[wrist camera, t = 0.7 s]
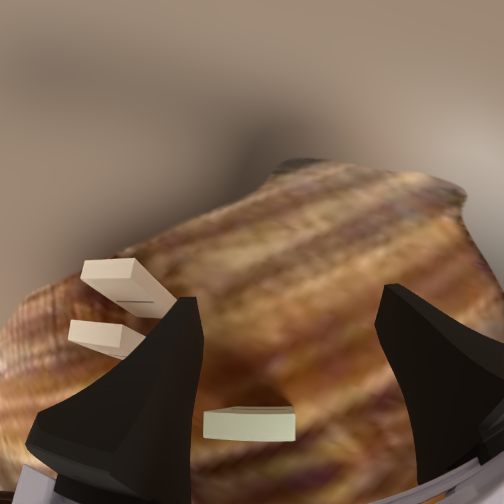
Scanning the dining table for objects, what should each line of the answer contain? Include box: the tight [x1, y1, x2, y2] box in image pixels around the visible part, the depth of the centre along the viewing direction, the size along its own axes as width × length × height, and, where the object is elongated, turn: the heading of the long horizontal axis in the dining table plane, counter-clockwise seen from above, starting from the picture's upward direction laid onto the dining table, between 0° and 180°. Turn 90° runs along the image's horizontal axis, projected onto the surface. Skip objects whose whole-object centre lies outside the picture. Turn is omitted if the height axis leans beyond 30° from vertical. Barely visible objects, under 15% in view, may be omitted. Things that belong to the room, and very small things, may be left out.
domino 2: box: [68, 320, 146, 360], centre depth 21 cm, size 2×5×10 cm, turn 90°
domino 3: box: [203, 406, 295, 441], centre depth 17 cm, size 2×5×10 cm, turn 89°
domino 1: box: [80, 258, 177, 318], centre depth 23 cm, size 2×5×10 cm, turn 89°
